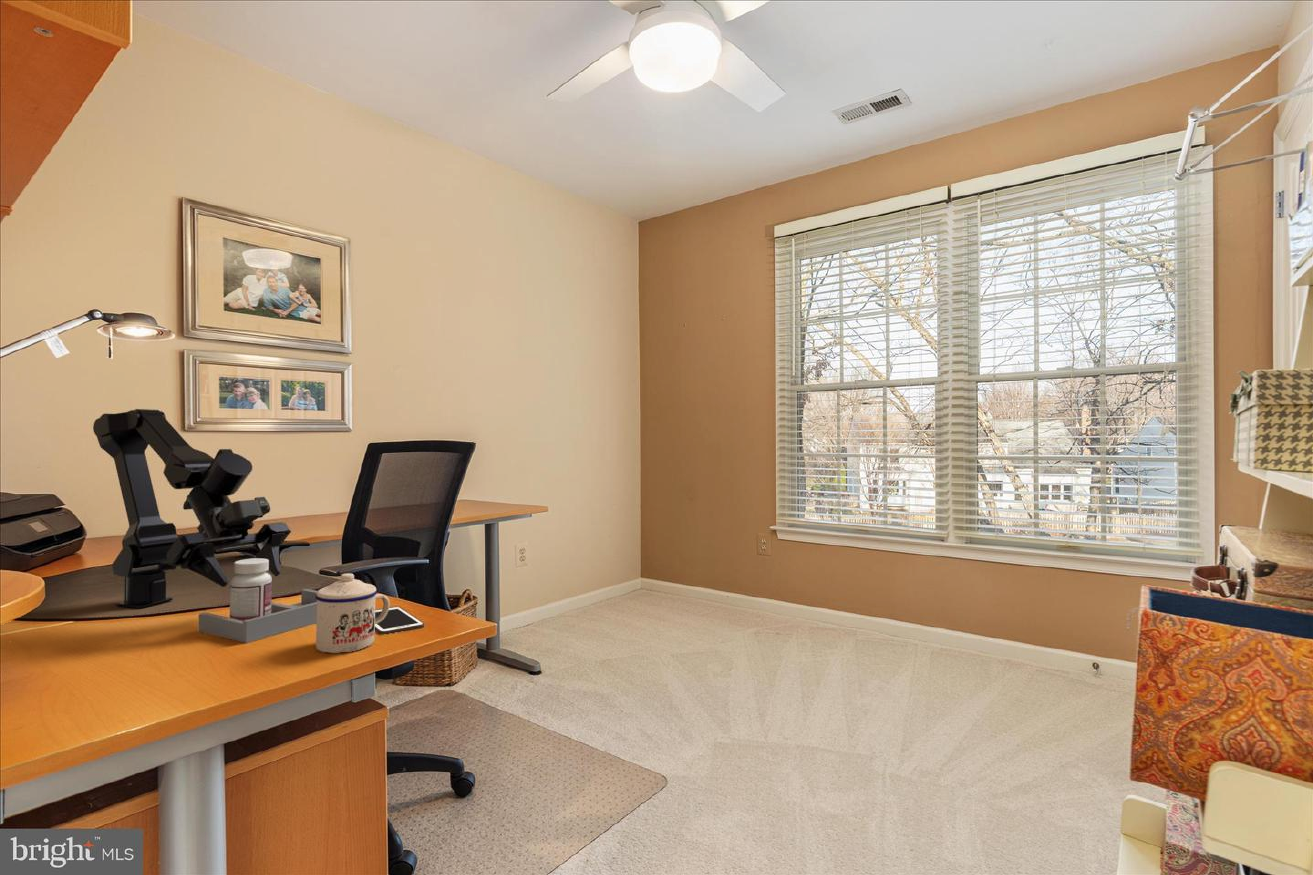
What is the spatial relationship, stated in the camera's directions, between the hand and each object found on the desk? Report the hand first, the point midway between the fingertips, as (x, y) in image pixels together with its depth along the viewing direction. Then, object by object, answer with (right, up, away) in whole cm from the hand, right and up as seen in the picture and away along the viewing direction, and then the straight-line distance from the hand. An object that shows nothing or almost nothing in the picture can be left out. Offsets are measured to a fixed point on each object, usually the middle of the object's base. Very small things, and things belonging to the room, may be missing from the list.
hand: (252, 579), depth 110 cm
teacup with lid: (+21, -9, -6) cm, 24 cm away
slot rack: (+2, -9, +4) cm, 10 cm away
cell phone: (+22, -10, +6) cm, 24 cm away
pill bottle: (-1, -8, 0) cm, 8 cm away
